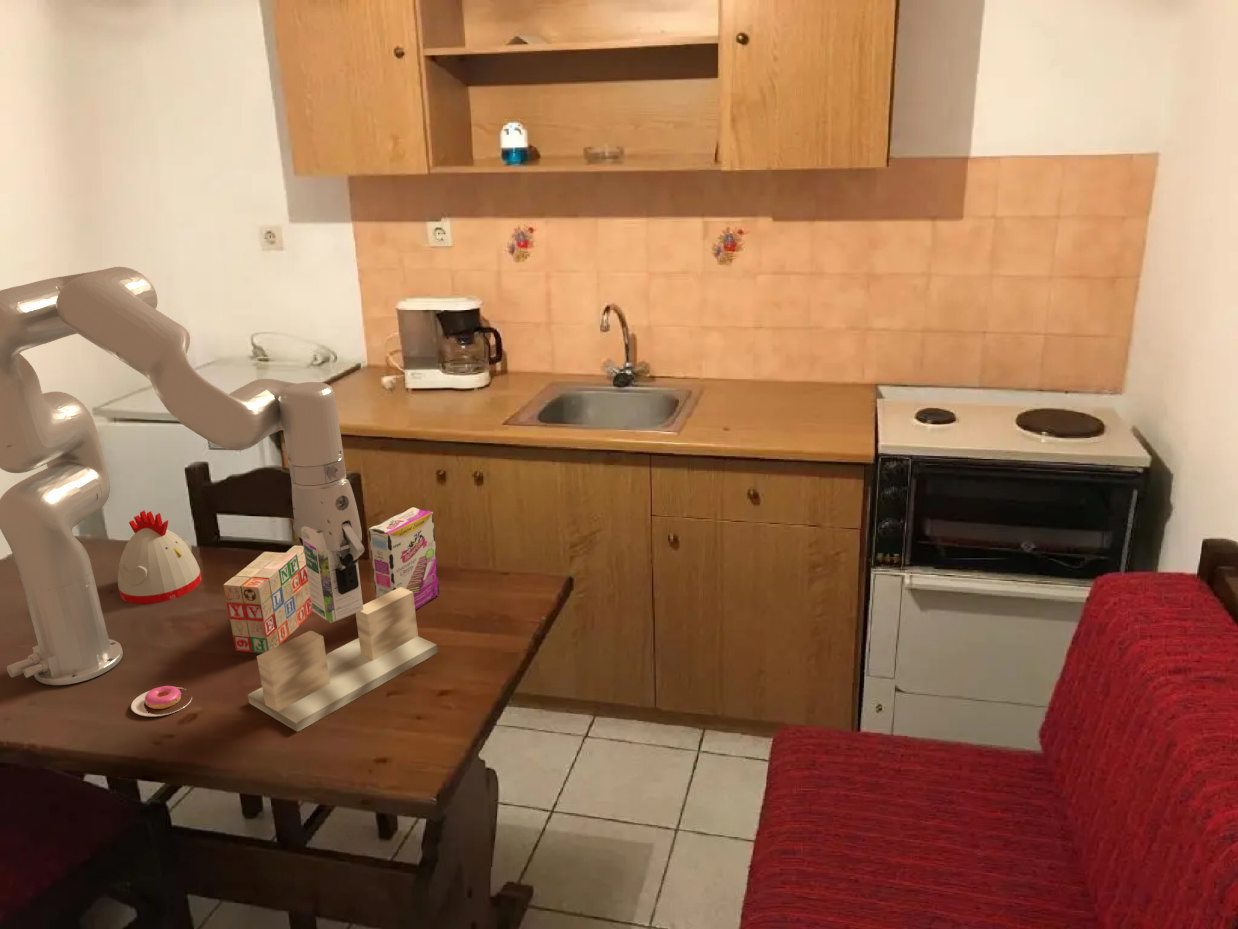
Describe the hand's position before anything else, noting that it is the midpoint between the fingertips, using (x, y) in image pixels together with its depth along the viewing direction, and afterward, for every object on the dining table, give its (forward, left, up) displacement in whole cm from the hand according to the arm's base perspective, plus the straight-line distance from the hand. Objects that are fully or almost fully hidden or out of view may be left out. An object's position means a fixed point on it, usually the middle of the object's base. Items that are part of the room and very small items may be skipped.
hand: (334, 583), depth 145 cm
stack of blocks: (+5, +23, -16) cm, 29 cm away
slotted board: (0, 0, -16) cm, 16 cm away
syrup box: (0, 0, -5) cm, 5 cm away
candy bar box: (+21, +10, -16) cm, 28 cm away
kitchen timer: (-1, +54, -16) cm, 56 cm away
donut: (-22, +17, -17) cm, 32 cm away
